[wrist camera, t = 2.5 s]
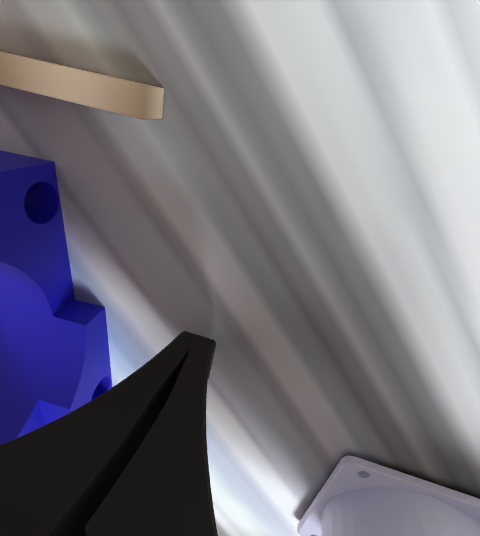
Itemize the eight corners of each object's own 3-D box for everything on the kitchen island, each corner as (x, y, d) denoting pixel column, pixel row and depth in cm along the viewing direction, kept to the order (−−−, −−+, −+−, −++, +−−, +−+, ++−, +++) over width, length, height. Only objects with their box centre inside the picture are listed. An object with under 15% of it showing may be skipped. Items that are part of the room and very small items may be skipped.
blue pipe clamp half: (115, 392, 16) (21, 523, 11) (42, 370, 17) (-79, 484, 12) (95, 169, 11) (-118, 223, 5) (-14, 145, 11) (-303, 174, 6)
